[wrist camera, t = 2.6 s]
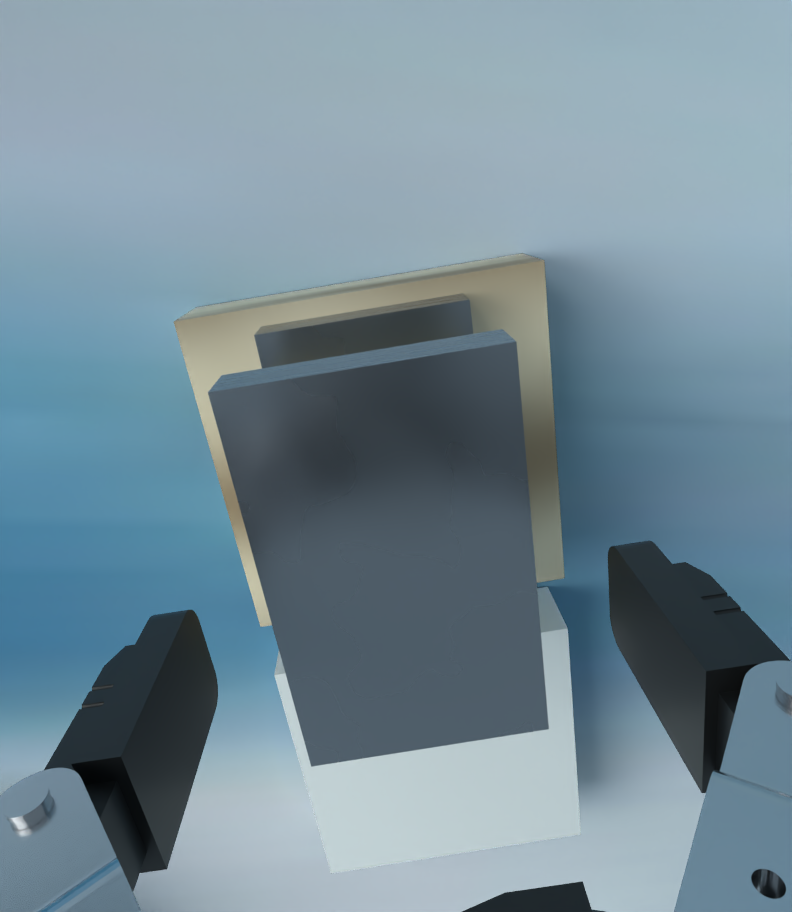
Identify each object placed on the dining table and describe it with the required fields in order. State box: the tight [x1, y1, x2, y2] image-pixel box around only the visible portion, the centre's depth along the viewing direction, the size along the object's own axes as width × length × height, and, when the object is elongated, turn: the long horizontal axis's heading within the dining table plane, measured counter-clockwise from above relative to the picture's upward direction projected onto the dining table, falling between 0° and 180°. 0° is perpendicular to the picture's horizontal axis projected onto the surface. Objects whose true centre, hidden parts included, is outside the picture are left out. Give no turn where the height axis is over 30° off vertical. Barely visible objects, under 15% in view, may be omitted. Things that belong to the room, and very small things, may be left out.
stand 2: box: [275, 587, 581, 874], centre depth 24 cm, size 10×10×2 cm
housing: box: [208, 293, 549, 767], centre depth 16 cm, size 9×6×6 cm, turn 9°
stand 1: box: [174, 253, 565, 627], centre depth 20 cm, size 10×10×2 cm
